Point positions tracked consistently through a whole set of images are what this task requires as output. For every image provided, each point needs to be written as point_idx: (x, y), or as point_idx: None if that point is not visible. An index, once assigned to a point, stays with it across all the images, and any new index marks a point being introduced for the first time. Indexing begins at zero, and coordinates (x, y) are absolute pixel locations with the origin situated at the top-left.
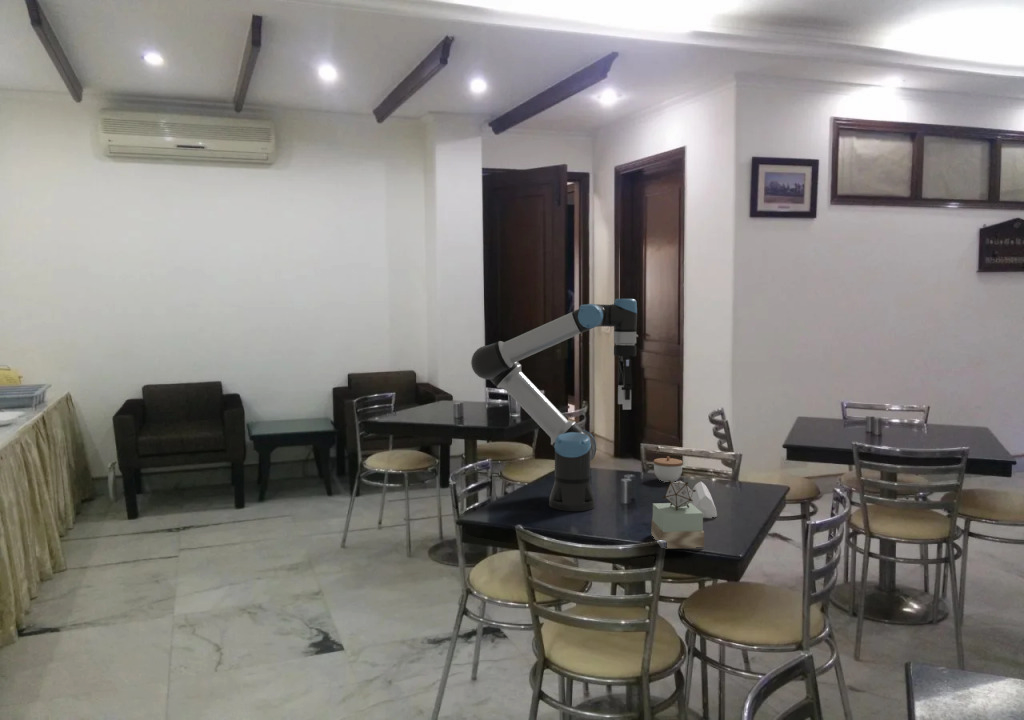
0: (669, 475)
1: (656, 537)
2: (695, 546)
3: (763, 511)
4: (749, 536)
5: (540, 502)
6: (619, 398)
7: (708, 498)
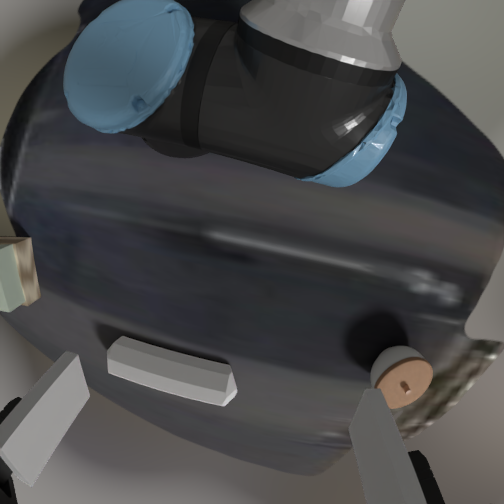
0: (371, 370)
1: (5, 238)
2: None
3: (169, 428)
4: (54, 361)
5: None
6: (373, 428)
7: (108, 372)
